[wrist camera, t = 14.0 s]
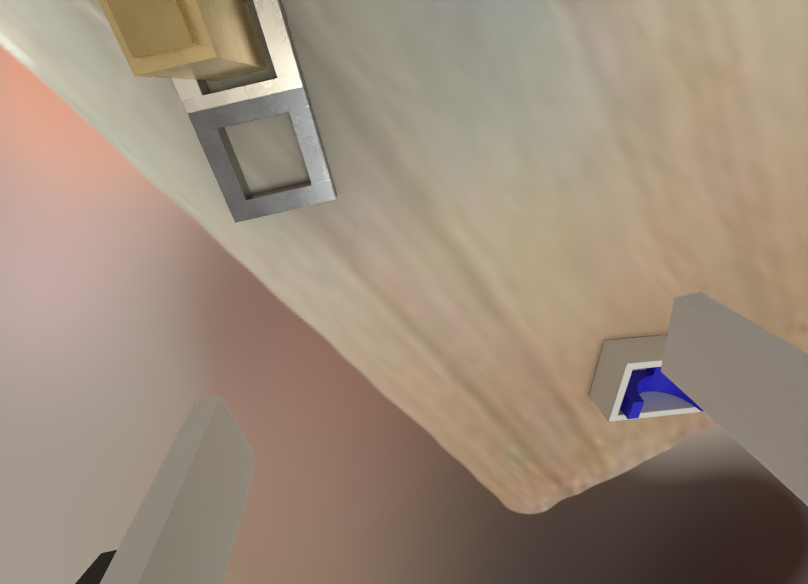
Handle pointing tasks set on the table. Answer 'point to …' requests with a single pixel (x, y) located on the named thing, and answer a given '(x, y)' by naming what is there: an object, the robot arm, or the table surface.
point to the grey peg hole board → (254, 104)
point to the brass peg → (186, 38)
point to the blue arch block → (648, 382)
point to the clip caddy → (616, 374)
